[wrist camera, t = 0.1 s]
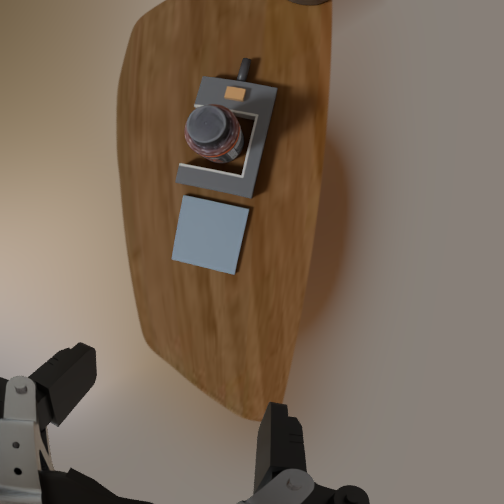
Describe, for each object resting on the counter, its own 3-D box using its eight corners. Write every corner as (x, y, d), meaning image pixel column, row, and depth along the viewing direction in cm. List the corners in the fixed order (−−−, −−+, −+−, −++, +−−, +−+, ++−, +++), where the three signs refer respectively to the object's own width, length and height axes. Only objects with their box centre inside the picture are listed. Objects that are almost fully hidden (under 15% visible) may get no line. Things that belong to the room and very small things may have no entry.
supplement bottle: (194, 155, 38) (166, 141, 26) (211, 116, 36) (190, 88, 25) (234, 170, 38) (221, 161, 27) (252, 130, 36) (245, 105, 25)
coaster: (184, 195, 39) (183, 195, 38) (249, 209, 38) (249, 209, 38) (172, 258, 40) (171, 259, 40) (234, 273, 40) (234, 274, 40)
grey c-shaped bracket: (213, 58, 35) (209, 49, 32) (282, 69, 34) (283, 60, 32) (180, 183, 38) (173, 182, 35) (251, 198, 38) (250, 198, 35)
